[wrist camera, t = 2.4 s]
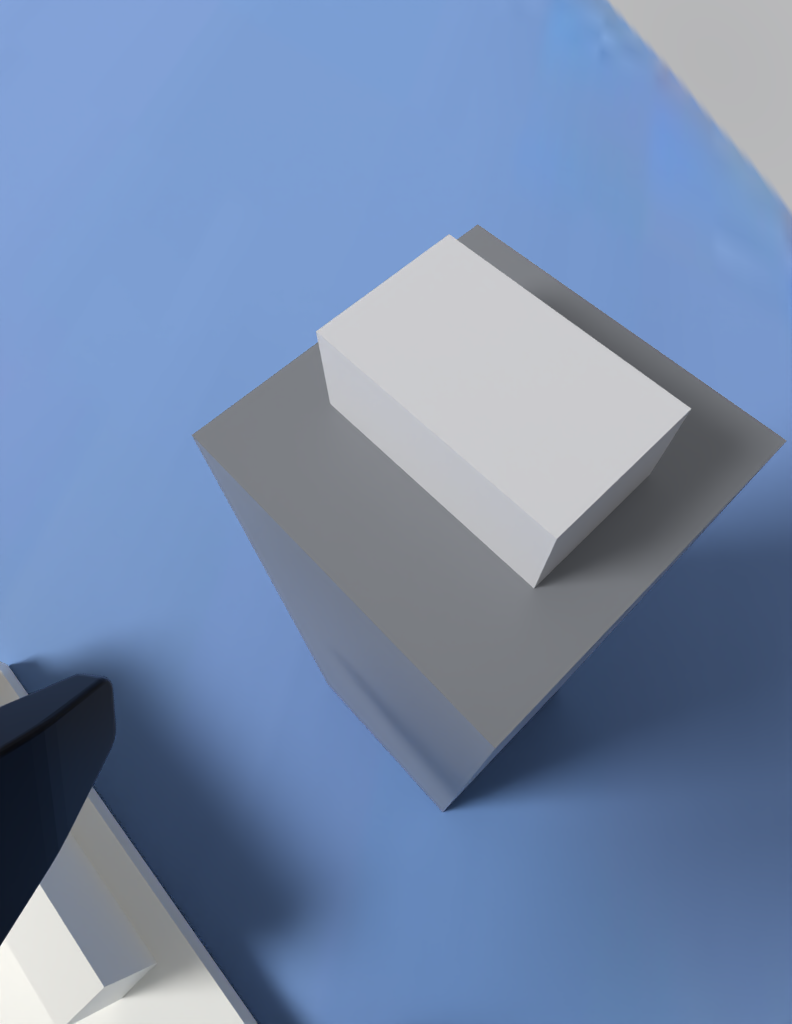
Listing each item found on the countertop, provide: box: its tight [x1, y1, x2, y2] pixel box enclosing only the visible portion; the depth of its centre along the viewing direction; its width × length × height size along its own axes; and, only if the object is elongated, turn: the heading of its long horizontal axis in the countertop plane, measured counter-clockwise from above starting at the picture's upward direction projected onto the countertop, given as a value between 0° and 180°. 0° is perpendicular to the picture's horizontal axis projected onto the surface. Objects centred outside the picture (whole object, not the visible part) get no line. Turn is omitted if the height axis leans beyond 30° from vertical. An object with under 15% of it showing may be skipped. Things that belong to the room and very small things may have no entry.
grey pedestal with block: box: [192, 225, 786, 812], centre depth 13 cm, size 4×4×14 cm
